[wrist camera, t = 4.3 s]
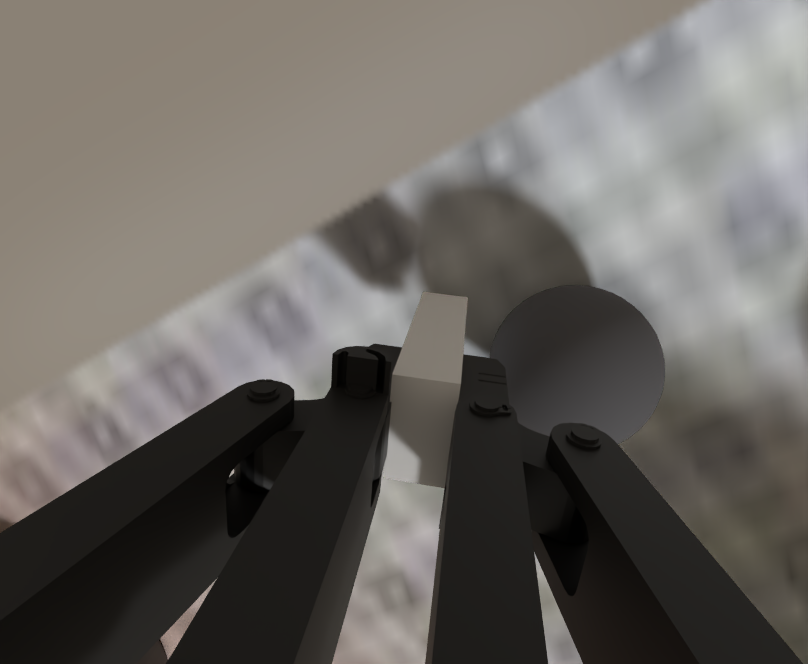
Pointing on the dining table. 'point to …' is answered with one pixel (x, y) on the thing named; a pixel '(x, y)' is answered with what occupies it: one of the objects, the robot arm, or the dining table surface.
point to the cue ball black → (580, 361)
